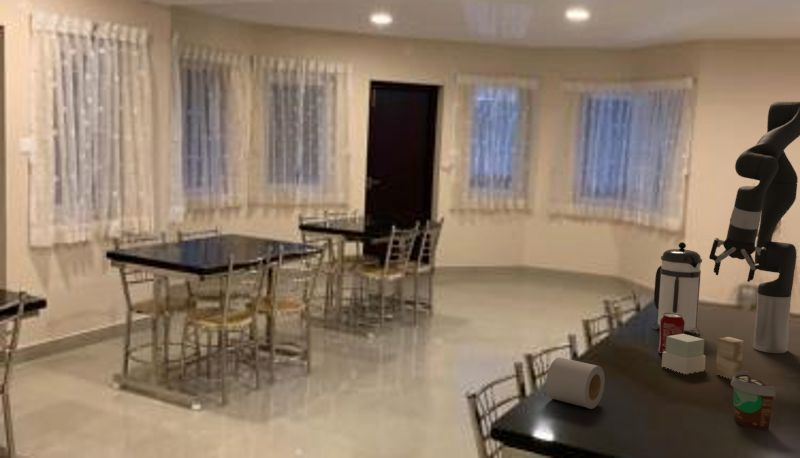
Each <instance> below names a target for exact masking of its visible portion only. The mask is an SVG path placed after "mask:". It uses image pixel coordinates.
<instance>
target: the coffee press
mask: <svg viewBox="0 0 800 458" xmlns="http://www.w3.org/2000/svg"><path fill="white" fill-rule="evenodd" d="M686 246H687V245H686V243H685V242H683V241H681V242H679V243H678V248H673V249H672V248H671V249H667V250H665V251H664V252H663V254H662V255H661V256H660V260H661V265H659V267H658V268H657V269H656V272H655V277H654V278H655V279H654V280H655V281H654V291H653V292H654V294H653V296H654V297H653V301H654V306H655V308H656V309H657V317H656V322H655V323H654V324H653V326H652V328H653V329H654V330H657V329H660V319H661V318H662V316H663V313H678V314H681V315H683V317H682V318H683V320H684V332H693V333H694V334H695V333H697V332H696V331H695V330H694V329H695V328H696V329H697V331H698V334H699V335H700V334H701V330H700V329H699V327H698V316H699V304H700V303H699V301H700V299H699V298H700V289H701V288H700V285H701V274H702V271H701V265H702V263H703V259H702V257H701V255H700V254H699V253H698V252H697V251H694V250H690V249H685V248H686ZM656 324H658V327H655V325H656Z"/></svg>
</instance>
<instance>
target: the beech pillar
mask: <svg viewBox="0 0 800 458" xmlns="http://www.w3.org/2000/svg"><path fill="white" fill-rule="evenodd" d="M743 349H744V340H742V339H739V338H735V337H732V336H725V337H720V338H717V349H716V350H717V351H716V362H715V363H716V364H715V374H716V376H718V375H720V376H719V377H722V376H723V377H722V378H725V377H726V379H728V378H729V379H728V380H732V378H733V376H734V374H735V373H737V372H742V363H743V354H744V353H743Z"/></svg>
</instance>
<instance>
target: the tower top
mask: <svg viewBox="0 0 800 458" xmlns="http://www.w3.org/2000/svg"><path fill="white" fill-rule="evenodd" d="M704 350H705V339H704V338H700V337H696V336H693V335H689V334H685V333H684V334H678V335H672V336H667V339H666V352H667V353H670V354H674V355H677V356H680V357H684V358H692V357H697V356H702V355H704Z"/></svg>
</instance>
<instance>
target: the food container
mask: <svg viewBox="0 0 800 458" xmlns="http://www.w3.org/2000/svg"><path fill="white" fill-rule="evenodd" d="M730 386H731V387H732V388H733V420H734V421H735V422H736V423H738V424H740V425H741V426H745V427H747V428H753V429H757V430H769V429H770V422H771V418H772V417H771V416H772V410H773V403H774V397H776V396H777V395H776V386H770V385H769V386H768V385H766V384H764V383H763V382H762V381H761V380H759V379H755V378H753V377H751V376H750V375H749V371H747V370H745V371H744V370H743V371H741V372H737V373H735V374H734V376H733V378H732V379H731V381H730Z"/></svg>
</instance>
